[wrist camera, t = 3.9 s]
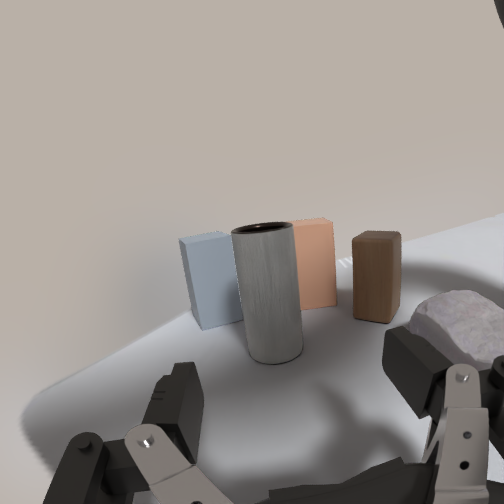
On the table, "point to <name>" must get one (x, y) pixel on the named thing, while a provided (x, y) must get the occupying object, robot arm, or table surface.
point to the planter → (269, 290)
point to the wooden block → (376, 275)
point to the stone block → (461, 327)
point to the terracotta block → (315, 262)
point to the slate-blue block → (211, 279)
